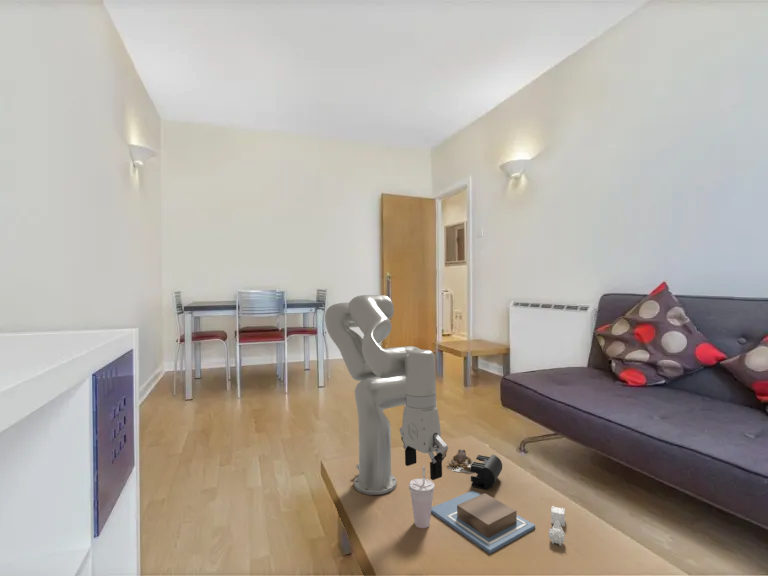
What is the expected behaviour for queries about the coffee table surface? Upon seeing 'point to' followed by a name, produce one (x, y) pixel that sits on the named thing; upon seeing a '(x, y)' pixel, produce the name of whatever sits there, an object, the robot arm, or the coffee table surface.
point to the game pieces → (557, 525)
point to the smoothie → (422, 500)
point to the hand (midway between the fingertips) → (423, 471)
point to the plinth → (486, 514)
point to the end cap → (485, 471)
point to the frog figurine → (461, 462)
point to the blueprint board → (491, 544)
